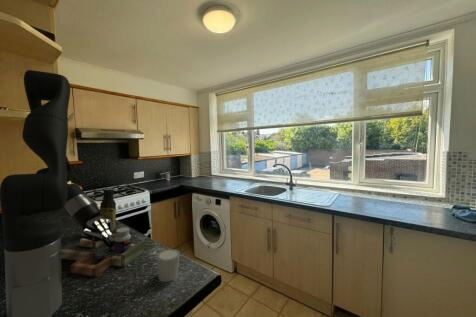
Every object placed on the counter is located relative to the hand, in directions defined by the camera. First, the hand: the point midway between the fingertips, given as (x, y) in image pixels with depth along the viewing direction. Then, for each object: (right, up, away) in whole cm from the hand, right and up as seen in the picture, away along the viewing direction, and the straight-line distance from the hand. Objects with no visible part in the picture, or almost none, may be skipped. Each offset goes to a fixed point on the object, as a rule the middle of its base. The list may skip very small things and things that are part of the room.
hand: (113, 245), depth 72 cm
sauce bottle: (-15, -2, +19) cm, 24 cm away
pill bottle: (+3, -4, 0) cm, 5 cm away
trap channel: (-5, -4, +1) cm, 6 cm away
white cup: (+23, -5, -10) cm, 26 cm away
